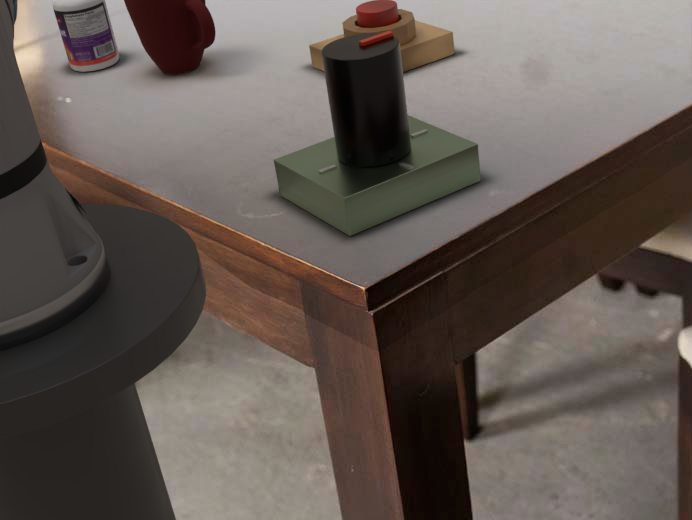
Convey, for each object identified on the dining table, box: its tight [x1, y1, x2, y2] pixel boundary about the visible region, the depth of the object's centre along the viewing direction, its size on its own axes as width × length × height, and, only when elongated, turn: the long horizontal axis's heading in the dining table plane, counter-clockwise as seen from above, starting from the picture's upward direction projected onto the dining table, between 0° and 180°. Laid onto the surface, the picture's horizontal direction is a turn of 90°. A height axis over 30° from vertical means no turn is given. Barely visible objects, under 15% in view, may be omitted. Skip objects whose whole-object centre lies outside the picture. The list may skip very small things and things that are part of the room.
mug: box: [123, 0, 216, 76], centre depth 111 cm, size 11×8×10 cm
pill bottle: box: [51, 0, 120, 73], centre depth 116 cm, size 5×5×10 cm
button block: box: [308, 8, 456, 73], centre depth 108 cm, size 11×9×4 cm
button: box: [355, 0, 399, 28], centre depth 106 cm, size 4×4×2 cm
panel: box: [273, 114, 482, 237], centre depth 84 cm, size 12×10×3 cm
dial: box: [322, 31, 411, 167], centre depth 81 cm, size 6×6×8 cm
